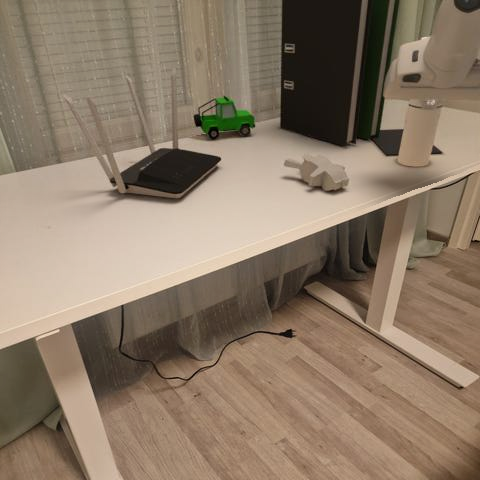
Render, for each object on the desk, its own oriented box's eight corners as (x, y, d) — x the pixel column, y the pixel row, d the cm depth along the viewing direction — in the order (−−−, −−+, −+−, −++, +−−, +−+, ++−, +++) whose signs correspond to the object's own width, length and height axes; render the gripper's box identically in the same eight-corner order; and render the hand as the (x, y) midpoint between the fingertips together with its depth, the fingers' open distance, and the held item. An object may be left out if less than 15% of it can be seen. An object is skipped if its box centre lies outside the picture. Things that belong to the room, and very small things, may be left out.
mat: (412, 130, 124) (413, 128, 124) (442, 153, 107) (442, 152, 106) (364, 131, 124) (364, 130, 124) (386, 155, 107) (386, 154, 107)
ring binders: (380, 137, 118) (403, -9, 98) (341, 147, 112) (357, -6, 92) (315, 120, 136) (322, -6, 117) (278, 128, 130) (280, -3, 110)
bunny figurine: (327, 178, 85) (280, 151, 93) (323, 202, 88) (278, 174, 97) (360, 168, 89) (312, 143, 98) (355, 190, 92) (309, 165, 101)
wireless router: (169, 213, 84) (152, 101, 71) (72, 200, 90) (42, 96, 78) (230, 159, 108) (226, 69, 96) (151, 152, 115) (137, 67, 103)
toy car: (256, 135, 124) (256, 98, 118) (198, 142, 121) (194, 103, 115) (248, 128, 131) (248, 92, 124) (193, 134, 128) (190, 97, 121)
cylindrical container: (392, 162, 103) (415, 39, 87) (405, 154, 107) (430, 35, 91) (420, 168, 99) (450, 40, 83) (433, 160, 103) (464, 37, 87)
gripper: (511, 43, 76) (482, 93, 89) (391, 45, 80) (381, 92, 93) (508, 76, 75) (480, 121, 89) (388, 76, 79) (378, 119, 93)
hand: (428, 106), depth 91 cm, fingers closed
